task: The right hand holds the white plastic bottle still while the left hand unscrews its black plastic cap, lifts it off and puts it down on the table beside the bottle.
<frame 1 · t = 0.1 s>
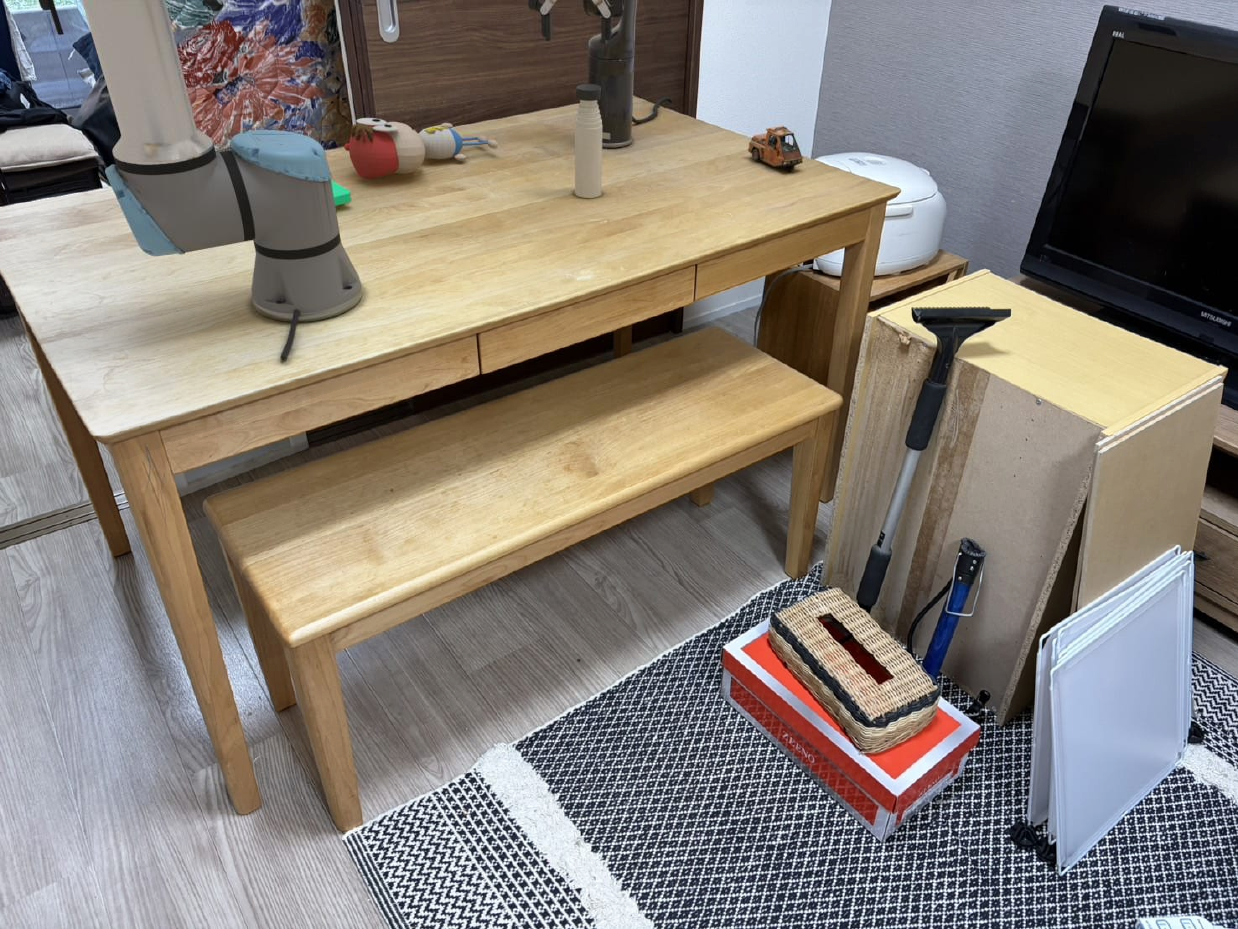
left hand: (108, 29, 146), 28 cm above the table, tool pointing down, fingers open, 13 cm apart
right hand: (576, 41, 142), 29 cm above the table, tool pointing down, fingers open, 8 cm apart
toy car: (774, 164, 187), on the table
bottle: (588, 193, 171), on the table
toy: (424, 165, 181), on the table
camera mount: (318, 203, 164), on the table
cap: (588, 88, 160), point 19 cm above the table, screwed on, not yet turned
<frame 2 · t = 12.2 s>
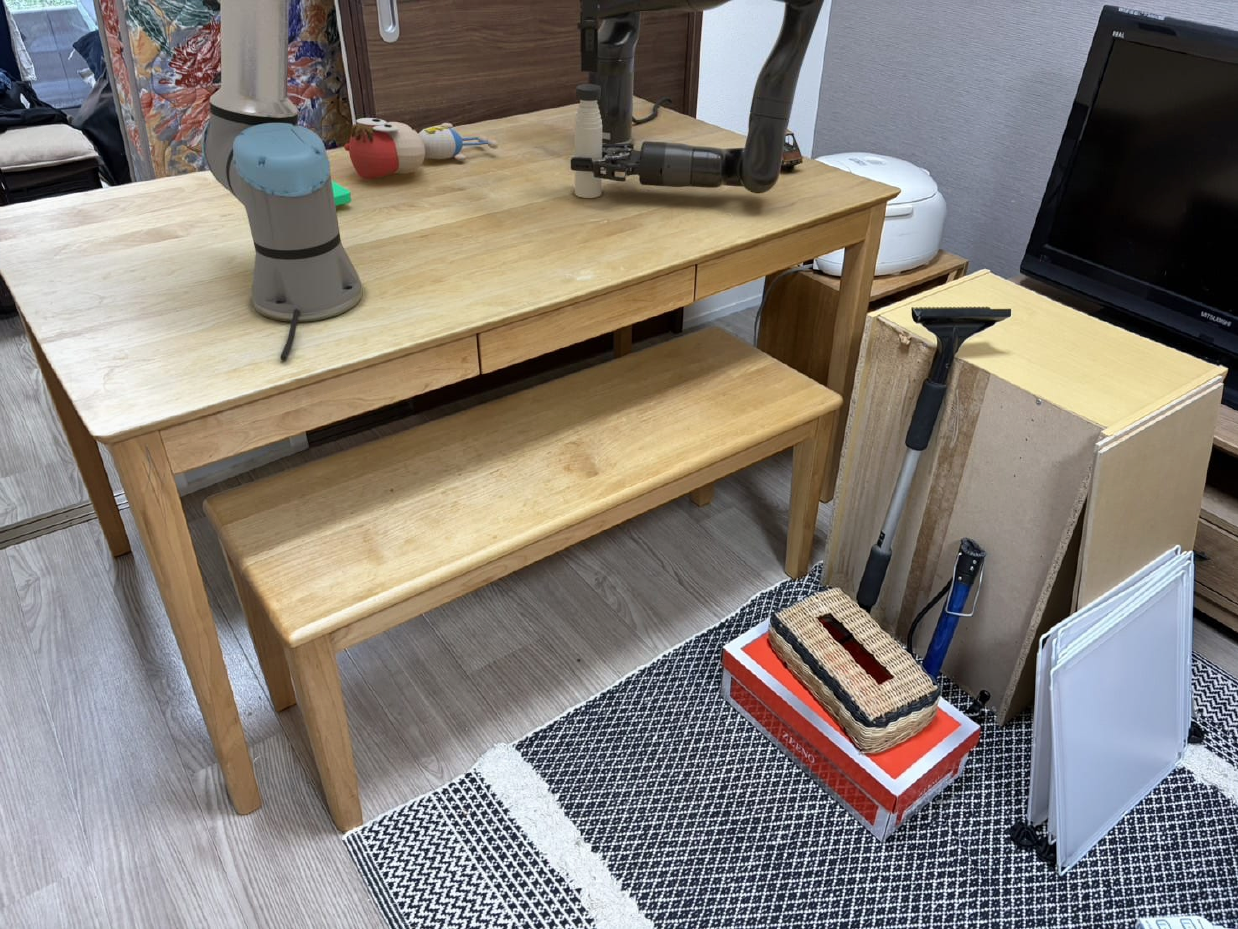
left hand: (588, 61, 157), 23 cm above the table, tool pointing down, fingers open, 12 cm apart
right hand: (574, 158, 168), 6 cm above the table, tool horizontal, fingers closed on bottle, 5 cm apart
bottle: (588, 193, 171), on the table, touching right hand
everything else where it was.
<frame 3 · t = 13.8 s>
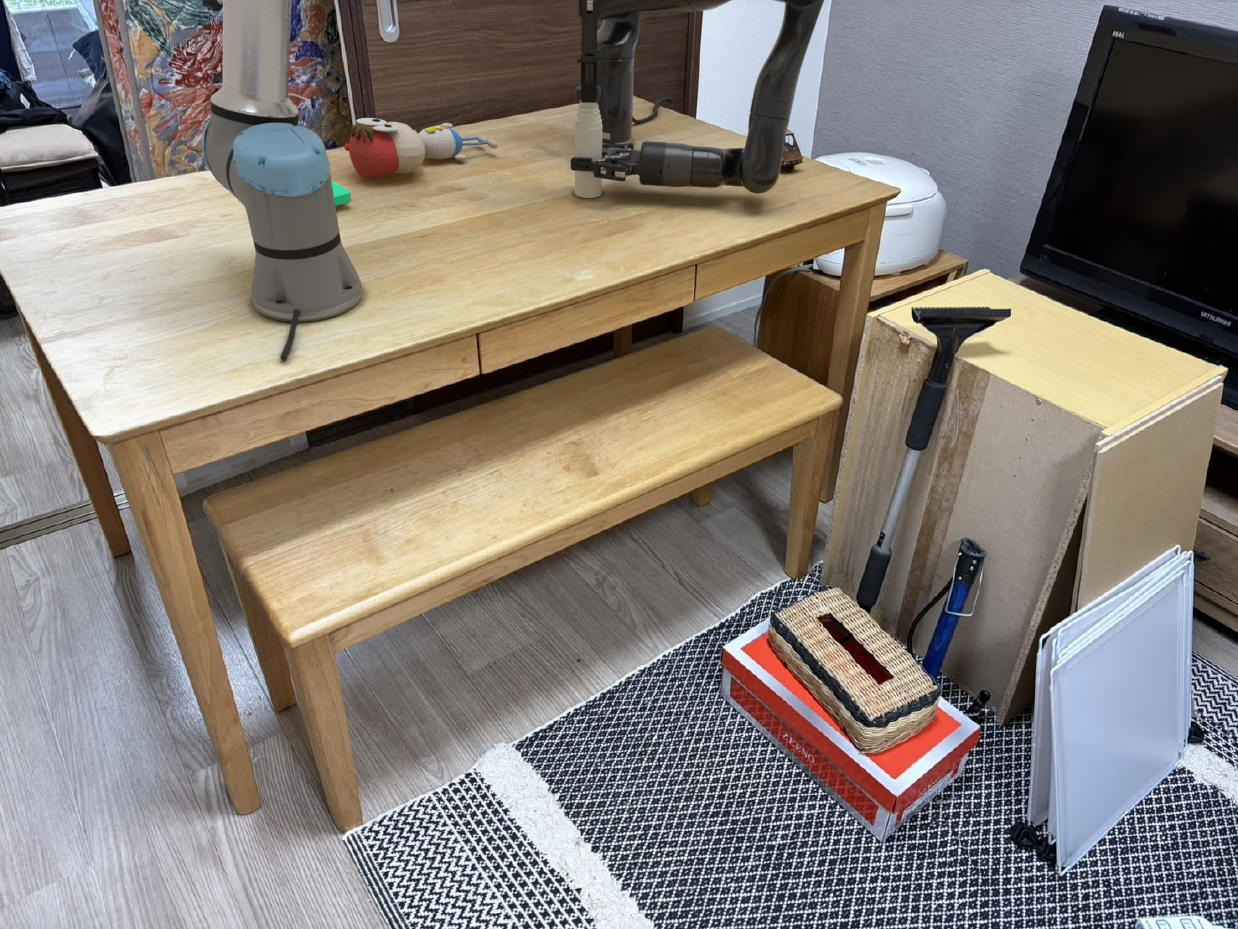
left hand: (588, 97, 161), 17 cm above the table, tool pointing down, fingers closed on cap, 4 cm apart
right hand: (574, 158, 168), 6 cm above the table, tool horizontal, fingers closed on bottle, 5 cm apart
bottle: (588, 193, 171), on the table, touching right hand
cap: (588, 88, 160), point 19 cm above the table, screwed on, not yet turned, touching left hand
everything else where it was.
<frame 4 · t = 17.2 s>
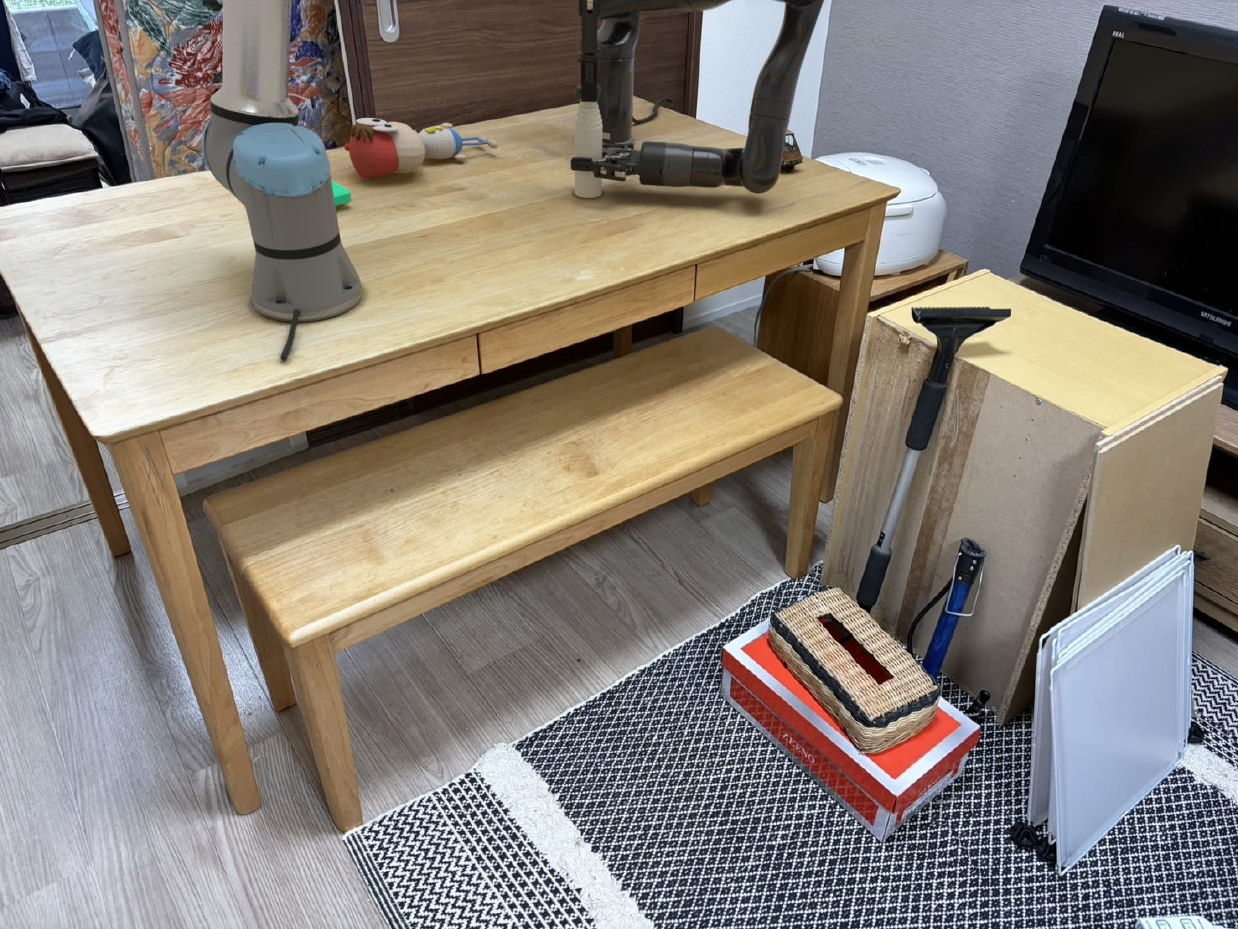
left hand: (588, 96, 161), 17 cm above the table, tool pointing down, fingers closed on cap, 4 cm apart
right hand: (574, 158, 168), 6 cm above the table, tool horizontal, fingers closed on bottle, 5 cm apart
bottle: (588, 193, 171), on the table, touching right hand
cap: (588, 88, 160), point 19 cm above the table, turned 119° so far, risen 0.1 cm, still on its thread, touching left hand
everything else where it was.
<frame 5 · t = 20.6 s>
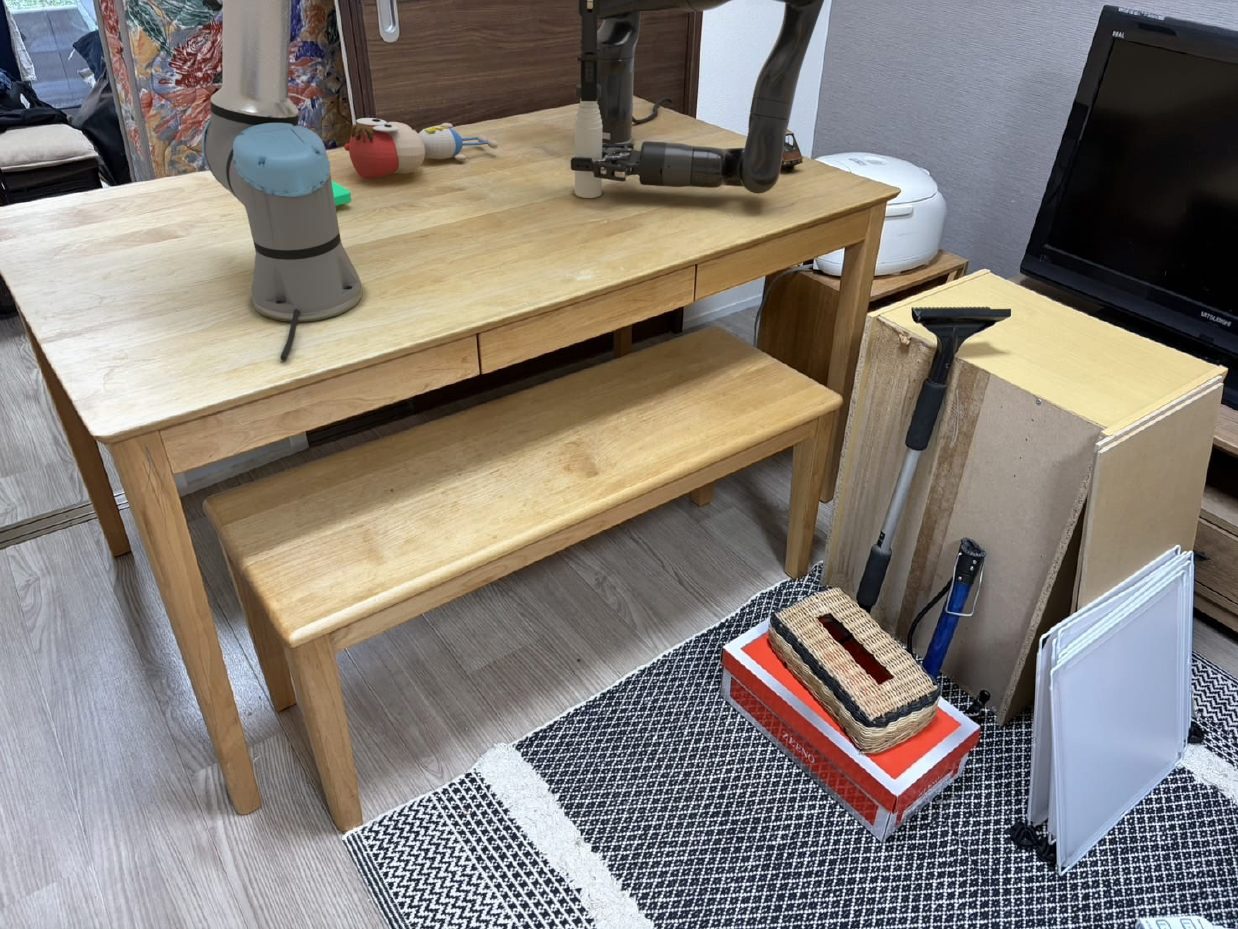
left hand: (588, 96, 161), 17 cm above the table, tool pointing down, fingers closed on cap, 4 cm apart
right hand: (574, 158, 168), 6 cm above the table, tool horizontal, fingers closed on bottle, 5 cm apart
bottle: (588, 193, 171), on the table, touching right hand
cap: (588, 87, 160), point 19 cm above the table, turned 237° so far, risen 0.2 cm, still on its thread, touching left hand
everything else where it was.
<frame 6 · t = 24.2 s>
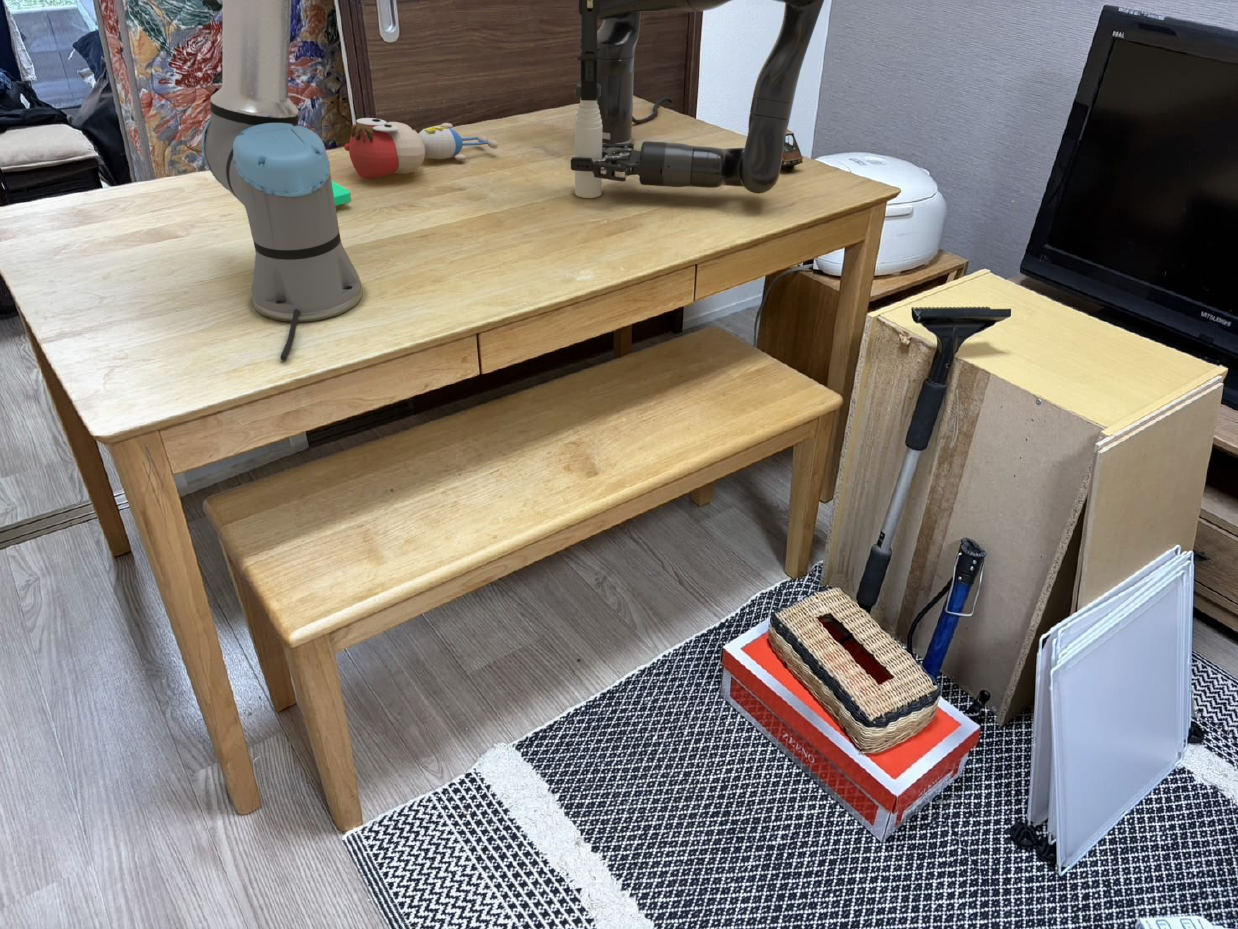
left hand: (588, 95, 161), 17 cm above the table, tool pointing down, fingers closed on cap, 4 cm apart
right hand: (574, 158, 168), 6 cm above the table, tool horizontal, fingers closed on bottle, 5 cm apart
bottle: (588, 193, 171), on the table, touching right hand
cap: (588, 86, 160), point 19 cm above the table, turned 356° so far, risen 0.4 cm, still on its thread, touching left hand
everything else where it was.
when the left hand's fingers open (2 cm above the table, at t = 30.4 s): cap drops 2 cm, point 1 cm above the table.
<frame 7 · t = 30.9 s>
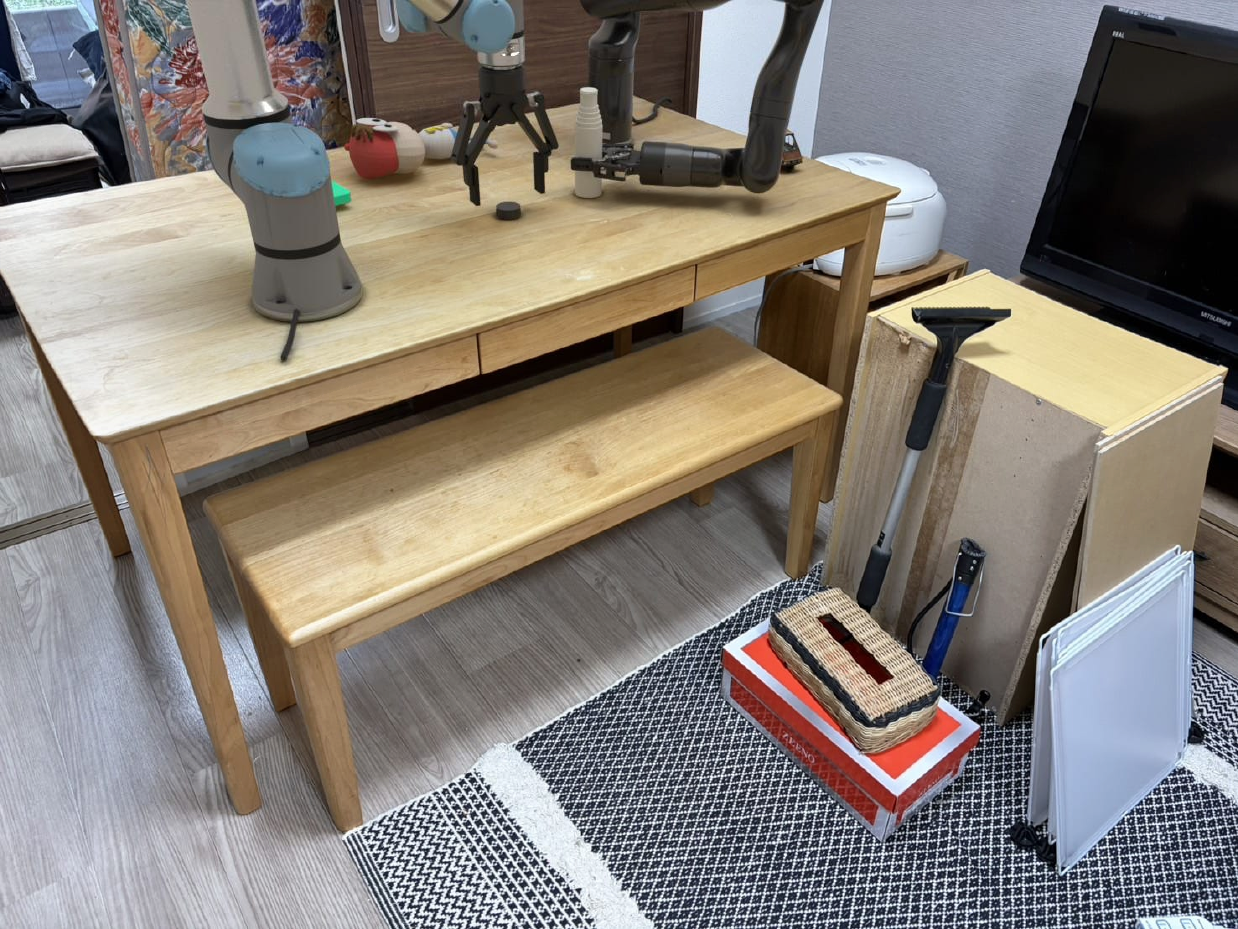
left hand: (508, 197, 160), 3 cm above the table, tool pointing down, fingers open, 11 cm apart
right hand: (574, 158, 168), 6 cm above the table, tool horizontal, fingers closed on bottle, 5 cm apart
bottle: (588, 193, 171), on the table, touching right hand
cap: (508, 207, 161), point 1 cm above the table, off its thread
everything else where it was.
when the right hand's fingers open (6 cm above the table, at t = 31.7 s): bottle stays where it is, on the table.
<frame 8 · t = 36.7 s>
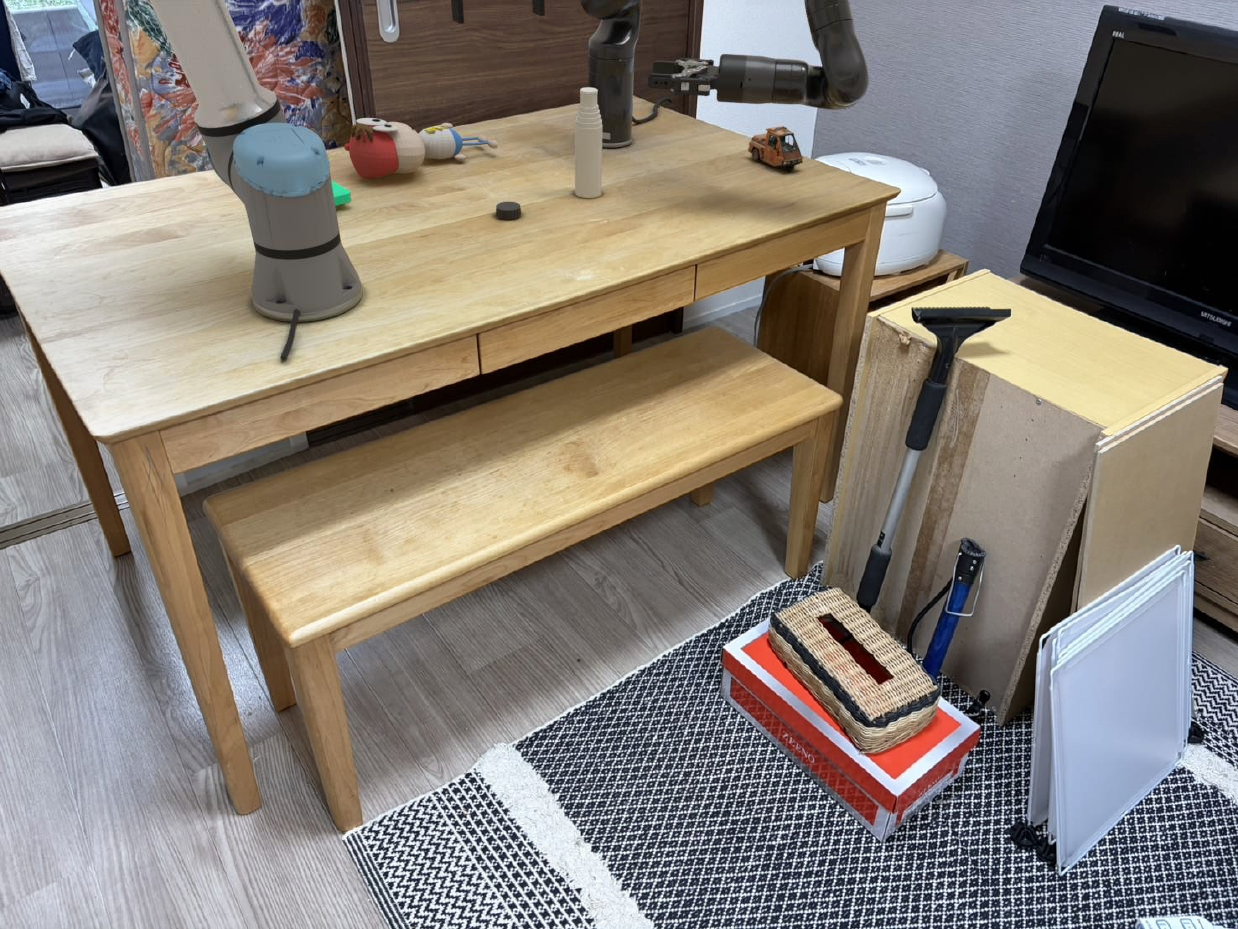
left hand: (499, 18, 143), 32 cm above the table, tool pointing down, fingers open, 13 cm apart
right hand: (650, 73, 157), 22 cm above the table, tool horizontal, fingers open, 8 cm apart
bottle: (588, 193, 171), on the table
everything else where it was.
at the end: cap came off its thread; cap point 1.4 cm above the table; the left hand is holding nothing; the right hand is holding nothing; bottle tilted 0°; bottle moved 0.0 cm from its start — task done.
